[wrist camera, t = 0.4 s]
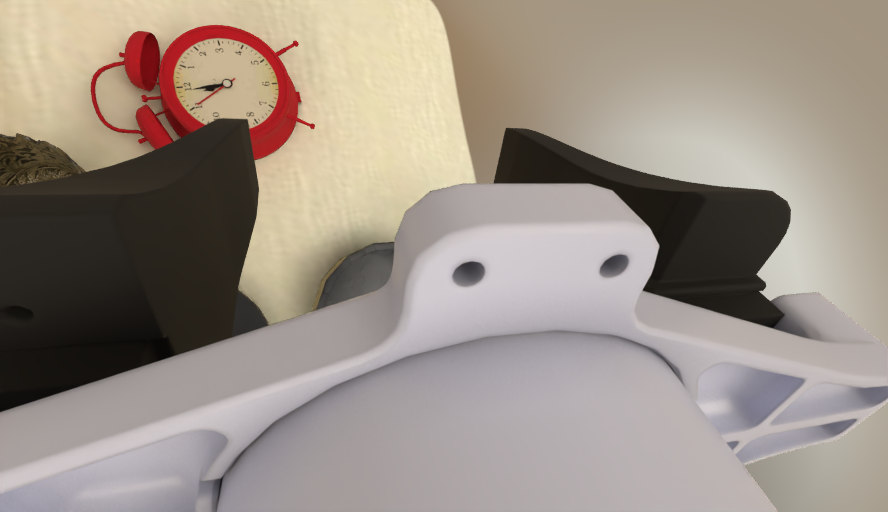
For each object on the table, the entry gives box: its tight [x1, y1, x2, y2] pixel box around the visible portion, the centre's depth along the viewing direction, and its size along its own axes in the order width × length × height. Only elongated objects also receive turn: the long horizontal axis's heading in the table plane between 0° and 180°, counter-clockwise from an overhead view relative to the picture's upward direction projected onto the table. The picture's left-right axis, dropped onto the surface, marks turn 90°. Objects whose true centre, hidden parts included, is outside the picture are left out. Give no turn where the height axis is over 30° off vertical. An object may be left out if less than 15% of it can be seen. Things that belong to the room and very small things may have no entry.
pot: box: [313, 242, 395, 311], centre depth 38 cm, size 12×12×5 cm
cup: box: [0, 133, 85, 187], centre depth 29 cm, size 8×7×8 cm
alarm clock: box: [91, 25, 315, 160], centre depth 34 cm, size 10×6×15 cm
